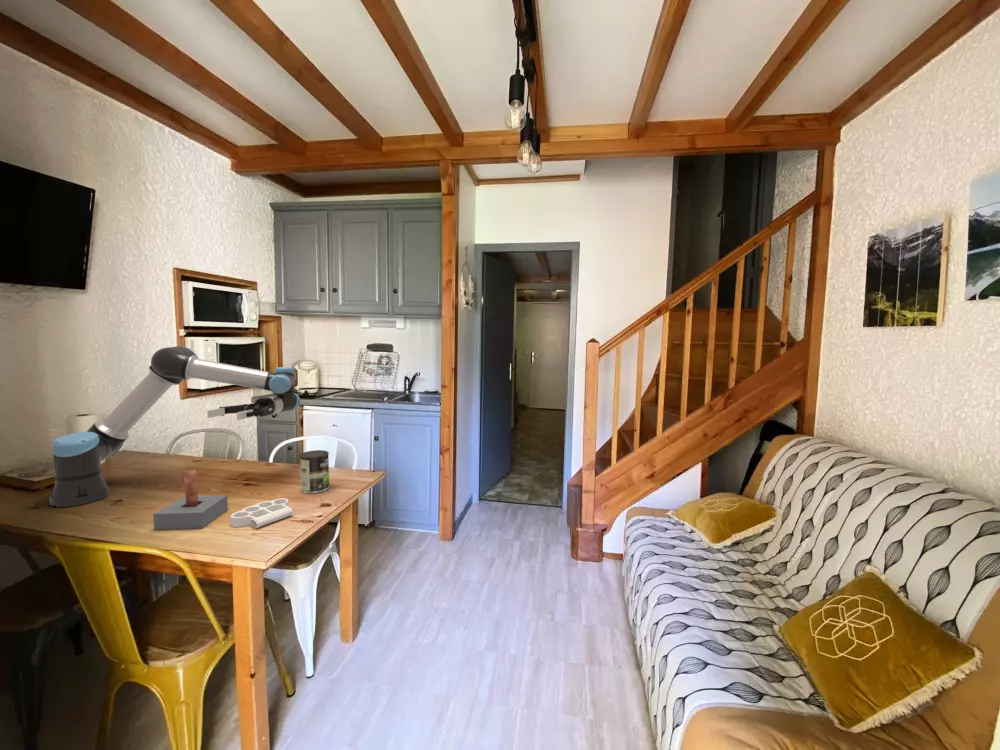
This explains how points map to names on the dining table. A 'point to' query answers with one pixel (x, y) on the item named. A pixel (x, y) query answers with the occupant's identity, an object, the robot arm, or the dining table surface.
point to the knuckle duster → (262, 513)
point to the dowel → (191, 488)
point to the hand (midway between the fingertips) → (222, 415)
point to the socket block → (190, 513)
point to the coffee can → (314, 471)
